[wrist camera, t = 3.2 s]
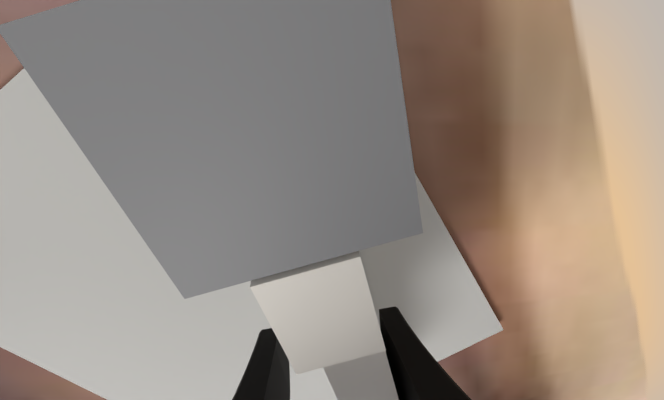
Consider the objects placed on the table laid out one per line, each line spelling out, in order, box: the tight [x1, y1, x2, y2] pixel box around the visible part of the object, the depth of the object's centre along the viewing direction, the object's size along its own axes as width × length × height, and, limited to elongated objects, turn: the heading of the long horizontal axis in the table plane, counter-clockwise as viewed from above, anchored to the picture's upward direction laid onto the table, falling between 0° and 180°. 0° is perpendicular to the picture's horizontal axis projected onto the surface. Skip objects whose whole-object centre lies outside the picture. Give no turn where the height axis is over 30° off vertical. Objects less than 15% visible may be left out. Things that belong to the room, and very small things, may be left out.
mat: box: [0, 68, 503, 400], centre depth 13 cm, size 20×18×1 cm
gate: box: [0, 0, 423, 400], centre depth 9 cm, size 17×3×6 cm, turn 15°
